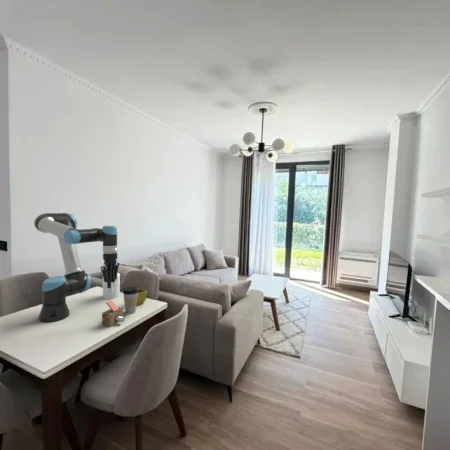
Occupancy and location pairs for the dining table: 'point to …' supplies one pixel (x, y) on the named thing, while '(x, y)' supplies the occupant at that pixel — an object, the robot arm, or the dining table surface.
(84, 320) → the dining table surface
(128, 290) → the coffee cup
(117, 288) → the bottle
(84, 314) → the dining table surface
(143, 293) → the flower pot
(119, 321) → the pin
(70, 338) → the dining table surface
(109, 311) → the block
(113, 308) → the block
